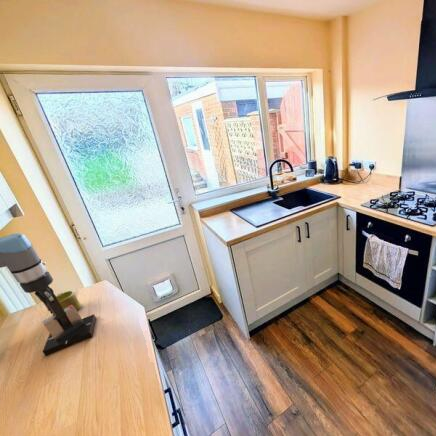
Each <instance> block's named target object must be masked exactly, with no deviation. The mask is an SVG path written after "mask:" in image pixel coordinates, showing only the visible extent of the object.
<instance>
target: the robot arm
mask: <svg viewBox="0 0 436 436" xmlns="http://www.w3.org/2000/svg"><path fill="white" fill-rule="evenodd" d="M46 265H47V263H46V262H44V261H42V259H41V258H40V257H39V255H38V254H37V252H36V250H35V248H34V246H33V243H32V242H30V240H29V239H28V237H27V236H26V235H25V234H24V233H19V232H17V233H11V234H7V235H4V236H1V237H0V268H5V267H6V268H7V269H8V270H9V272H10V274H11V275H12V277H13V278H14V280H15V281H16V283H18V284H19V286H20V287H21V289H22V291H23V292H24V293H27V294H30V293H31V294H32V293H34V295H35V296H36V297H37V298H38V299H39V301H40V302H42V304H43V305H44V306H45V308H46V309H47V311H48V312H50V314H51V315H52V316H53V315H55V318H53V319H54V320H57V321H58V323H59V324H60V326H61V327H62V328H63V330H64V331H66V330H68V329H69V328H71V327H73V325H72V323H71V322H70V320H69V319H68V317H67V316H66V312H65V311H64V310H63V308H62V306H61V305H60V303H59V302H58V300H57V297H56V296H57V295H56V294H55V293H54V289H52V287H50V285H51V284H52V283H53V282H54V278H53V277H52V275H51V273H50V271H48V269H47V267H46Z"/></svg>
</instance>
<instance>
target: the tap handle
mask: <svg viewBox="0 0 436 436" xmlns="http://www.w3.org/2000/svg"><path fill="white" fill-rule="evenodd" d="M63 310H64V311H65V312H66V316H67V317H68V319H69V320H70V322H71V323H72V325H73V327H71V328H69V329H68V330H66V331H64V330H63V328H62V327H61V326H60V324H59V323H58V321H57V320H54V319H53V318H55V315H53V314H52V315H51V316H50V317H48V318H46V319H44V320H42V321H41V323H42V324H43V326H44V327H45V329H46V330H47V331H48V332H49V335H50V334H51V335H52V337H53V338H54V339H55V340H56V341H59V340H60V339H62V338H63V337H65V336H66V335H68V334H70V333H71V332H73V331H74V330H76V329H77V328H79V327H81V326H82V325H84V324H85V323H84V322H83V320H82V319H83V318H82V317H81V315H80V313H79V312H78V311H77V310H76V309H75V307H74V306H73V305H70V306H68V307H67V308H65V309H63Z"/></svg>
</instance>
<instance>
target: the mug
mask: <svg viewBox="0 0 436 436" xmlns="http://www.w3.org/2000/svg"><path fill="white" fill-rule="evenodd" d="M56 297H57V300H58V302H59V303H60V305H61V306H62V308H63V309H65V308H67V307H68V306H70V305H73V306H74V307H75V309H76V310H77V312H78V311H79V310H81V308H82V304H81V302H80V301H79V299H78V296H77V295H76V293H75V292H74V291H73V290H68V291H64V292H59V293H57V295H56Z"/></svg>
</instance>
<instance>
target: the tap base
mask: <svg viewBox="0 0 436 436" xmlns="http://www.w3.org/2000/svg"><path fill="white" fill-rule="evenodd" d="M97 319H98V318H97V316H96V315H95V314H91V315H88V316H86V317H83V318H82V320H83V322H84V323H85V324H84V325H82V326H81V327H79V328H77V329H76V330H74V331H73V332H71V333H70V334H68V335H66V336H65V337H63V338H62V339H60V340H59V341H56V340H55V339H54V338H53V337H52V335H51V334H50V333H49V334H48V337H47V339H46V342H45V343H44V347H43V349H42V353H43V354H44V356H45V357H48V356H50V355H53V354H55V353H58V352H60V351H62V350H65V349H67V348H69V347H72V346H74V345H77V344H79V343H82V342H84V341H86V340H89V339H91V338H92V339H93V337H94V332H95V329H96V323H97Z"/></svg>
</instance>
